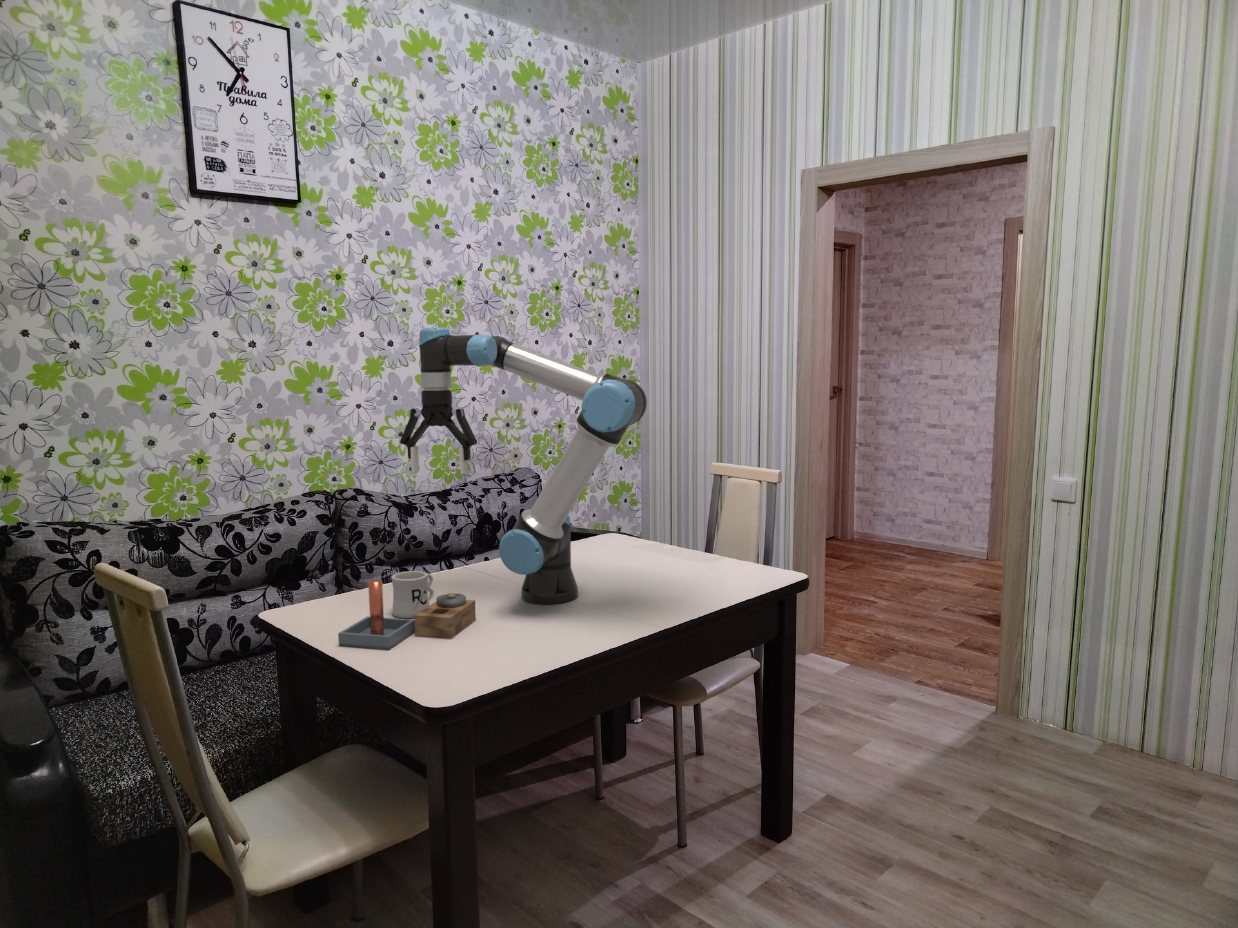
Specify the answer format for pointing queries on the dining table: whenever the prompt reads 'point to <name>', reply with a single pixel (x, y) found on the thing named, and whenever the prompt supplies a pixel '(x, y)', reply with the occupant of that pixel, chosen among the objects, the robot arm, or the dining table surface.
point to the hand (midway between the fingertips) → (439, 472)
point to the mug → (411, 593)
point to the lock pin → (376, 607)
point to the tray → (363, 638)
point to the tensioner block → (445, 617)
